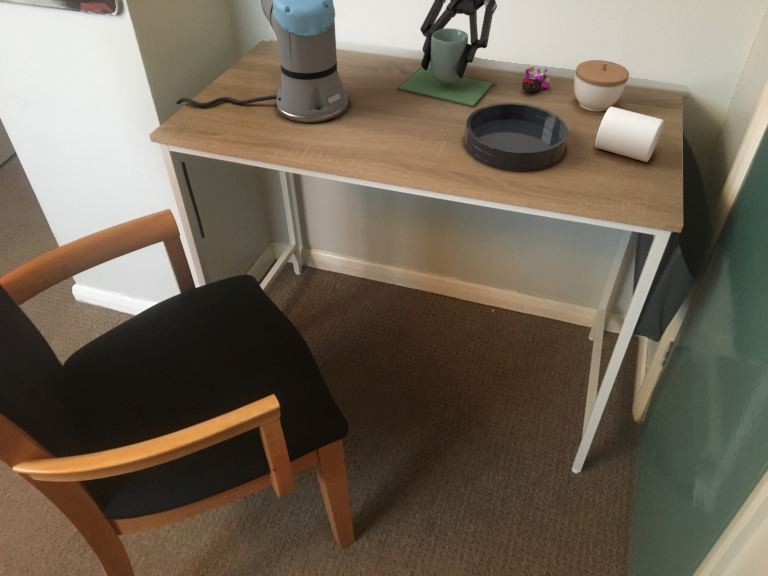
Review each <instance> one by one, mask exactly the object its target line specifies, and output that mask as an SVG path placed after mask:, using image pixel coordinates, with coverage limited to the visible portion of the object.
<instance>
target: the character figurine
mask: <svg viewBox="0 0 768 576" xmlns="http://www.w3.org/2000/svg"><path fill="white" fill-rule="evenodd" d="M524 71H525V74H524V75H525V77H524V78H523V79H522V84H521V90H523V91H525V92H530V93H534V92H537V91H538V90H539V88H542V89H549V84H550V80H551V77H547V76H546V74H547V72H548V71H549V69H548V68H545V69H544V71H542V72H541V68H537V69H536V70H535V66H530V67H529V68H526V69H524ZM534 71H536V73H535V74H533V75H532V76H531V75H530V74H531V73H533V72H534ZM545 76H546V77H545ZM544 77H545V79H544ZM543 82H544V83H543Z"/></svg>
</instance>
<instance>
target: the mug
mask: <svg viewBox="0 0 768 576" xmlns="http://www.w3.org/2000/svg"><path fill="white" fill-rule="evenodd" d="M664 124H665V121H664V119H661V118H658V117H654V116H650V115H646V114H642V113H640V112H639V113H638V112H635V111H631V110H627V109H623V108H619V107H615V106H610V107H608V109H607V110H605V113H604V115H603V117H602V120H601V122H600V124H599V128H598V129H597V130H598V131H597V134H596V137H595V142H594V145H595V148H596V149H600V150H601V151H602V150H603V151H607V152H610V153H614V154H615V155H616V154H617V155H621V156H623V157H627V158H631V159H634V160H638V161H640V162H641V161H642V162H645V163H647V162H649V160H650V159H651V157H652V155H653V153H654V151H655V149H656V146H657V144H658V141H659V138H660V136H661V133H662V130H663V128H664Z"/></svg>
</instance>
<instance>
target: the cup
mask: <svg viewBox="0 0 768 576" xmlns="http://www.w3.org/2000/svg"><path fill="white" fill-rule="evenodd" d="M466 44H469V34H468V33H467V32H466V31H464V30H462V29H457V28H449V27H447V28H446V27H445V28H443V29H440V30H437V31H435V32H434V33H433V34H432V37H431V56H430V70H431V72H432V75H433V77H434V78H435V79H436V80H437V81H439V82H441V83H446V84H449V83H454V82H456V81H458V80H459V79H460V78H459V76H458V74H457V70H458V67H459V64H460V62H461V59H462V56H463V53H464V50H465V47H466Z"/></svg>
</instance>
